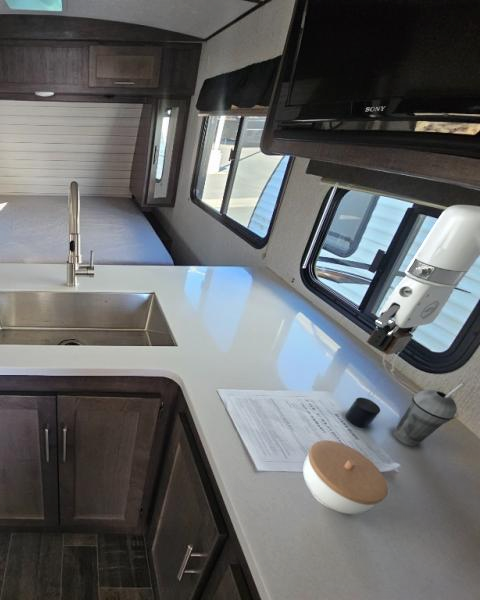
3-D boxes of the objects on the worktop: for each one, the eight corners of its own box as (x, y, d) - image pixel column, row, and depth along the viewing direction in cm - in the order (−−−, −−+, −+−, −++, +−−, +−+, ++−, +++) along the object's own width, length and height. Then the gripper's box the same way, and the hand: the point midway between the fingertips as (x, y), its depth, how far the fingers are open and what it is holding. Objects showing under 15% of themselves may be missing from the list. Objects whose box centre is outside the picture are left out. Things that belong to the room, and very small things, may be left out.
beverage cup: (388, 420, 85) (433, 364, 75) (425, 438, 81) (478, 381, 70) (384, 437, 81) (432, 379, 70) (423, 457, 76) (480, 398, 66)
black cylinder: (354, 411, 88) (365, 395, 84) (373, 426, 83) (385, 410, 80) (340, 414, 86) (351, 399, 83) (358, 430, 82) (370, 414, 79)
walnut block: (380, 339, 74) (390, 323, 72) (401, 351, 70) (413, 335, 68) (366, 342, 73) (376, 326, 70) (387, 354, 69) (398, 338, 67)
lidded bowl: (317, 525, 63) (343, 495, 57) (282, 464, 73) (301, 433, 68) (380, 526, 63) (412, 496, 57) (336, 465, 74) (359, 434, 68)
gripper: (427, 285, 57) (374, 362, 66) (487, 276, 61) (429, 350, 70) (382, 267, 63) (340, 340, 72) (440, 260, 67) (393, 330, 76)
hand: (384, 344), depth 71 cm, fingers closed on walnut block, 4 cm apart
